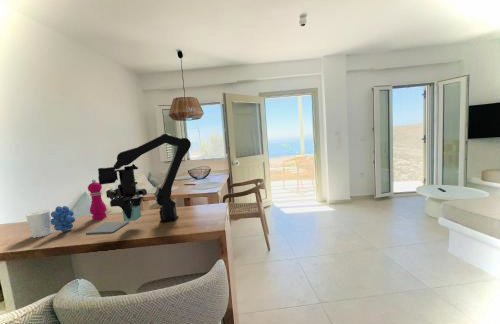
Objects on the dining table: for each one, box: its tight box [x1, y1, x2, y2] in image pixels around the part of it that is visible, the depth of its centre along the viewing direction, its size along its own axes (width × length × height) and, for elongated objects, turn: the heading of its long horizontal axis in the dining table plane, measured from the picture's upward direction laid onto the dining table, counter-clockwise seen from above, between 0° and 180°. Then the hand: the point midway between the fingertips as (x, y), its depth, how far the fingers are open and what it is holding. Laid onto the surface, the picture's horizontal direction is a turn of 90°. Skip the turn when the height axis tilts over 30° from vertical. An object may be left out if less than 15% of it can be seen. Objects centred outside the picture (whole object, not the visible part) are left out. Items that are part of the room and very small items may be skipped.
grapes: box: [50, 205, 76, 233], centre depth 109 cm, size 12×7×12 cm, turn 175°
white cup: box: [26, 209, 53, 239], centre depth 108 cm, size 8×8×10 cm
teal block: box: [122, 205, 142, 222], centre depth 107 cm, size 5×5×5 cm
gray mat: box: [85, 220, 130, 235], centre depth 110 cm, size 12×12×1 cm
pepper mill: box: [87, 179, 108, 221], centre depth 125 cm, size 7×7×20 cm
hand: (132, 216), depth 108 cm, fingers closed on teal block, 5 cm apart
